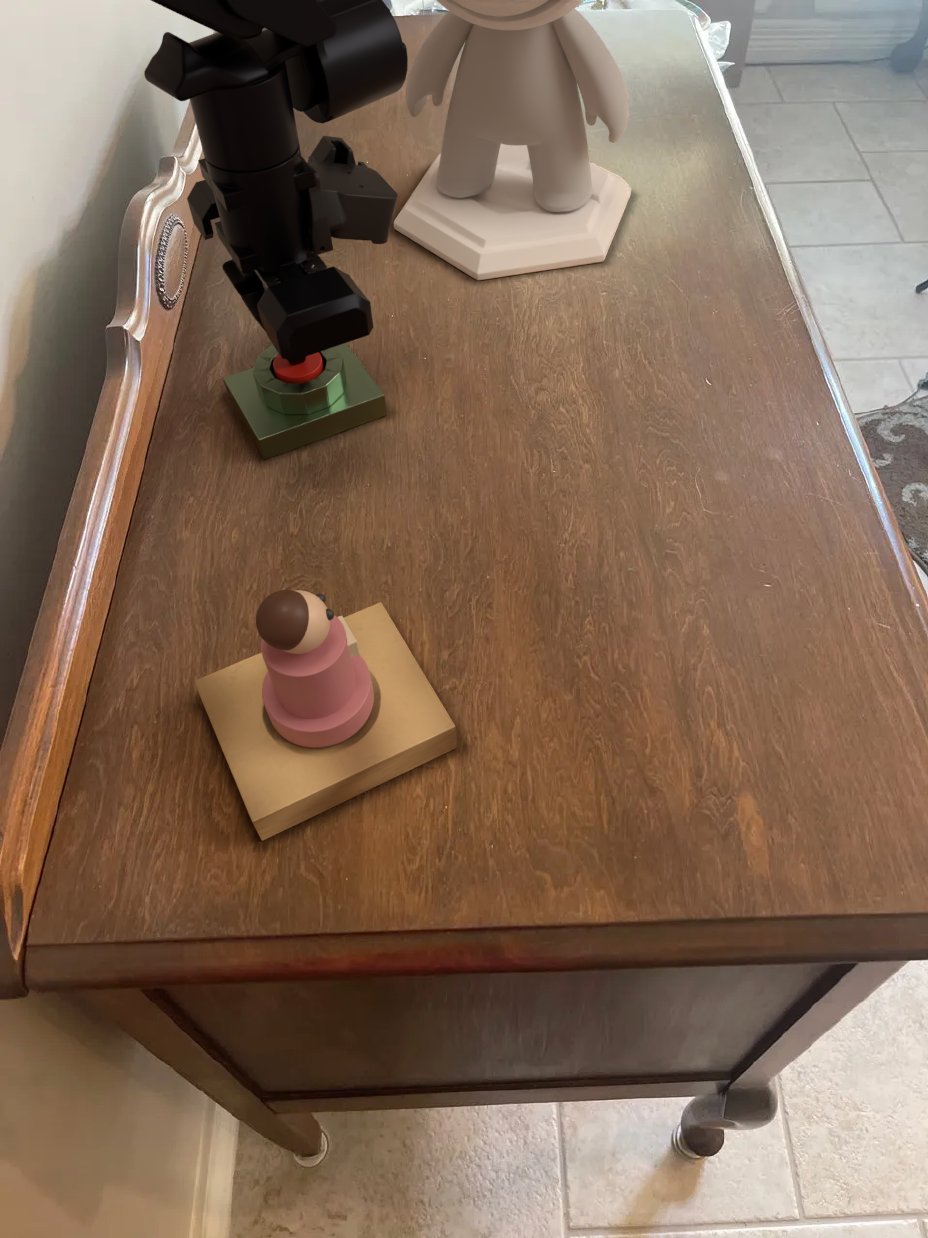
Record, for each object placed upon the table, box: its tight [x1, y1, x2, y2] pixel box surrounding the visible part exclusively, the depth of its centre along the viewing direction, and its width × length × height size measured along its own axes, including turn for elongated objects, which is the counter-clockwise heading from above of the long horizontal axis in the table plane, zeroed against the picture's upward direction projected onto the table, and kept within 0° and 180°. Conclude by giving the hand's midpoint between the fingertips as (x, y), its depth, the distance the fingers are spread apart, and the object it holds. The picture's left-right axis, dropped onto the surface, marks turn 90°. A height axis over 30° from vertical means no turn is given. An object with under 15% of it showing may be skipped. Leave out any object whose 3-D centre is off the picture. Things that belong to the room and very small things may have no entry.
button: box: [273, 352, 324, 383], centre depth 68 cm, size 4×4×2 cm
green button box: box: [222, 342, 388, 461], centre depth 70 cm, size 10×8×4 cm
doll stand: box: [193, 601, 458, 842], centre depth 53 cm, size 12×10×2 cm
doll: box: [255, 589, 374, 748], centre depth 48 cm, size 6×6×10 cm
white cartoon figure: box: [393, 0, 632, 281], centre depth 73 cm, size 20×23×35 cm
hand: (296, 361), depth 68 cm, fingers closed, pressing on button
